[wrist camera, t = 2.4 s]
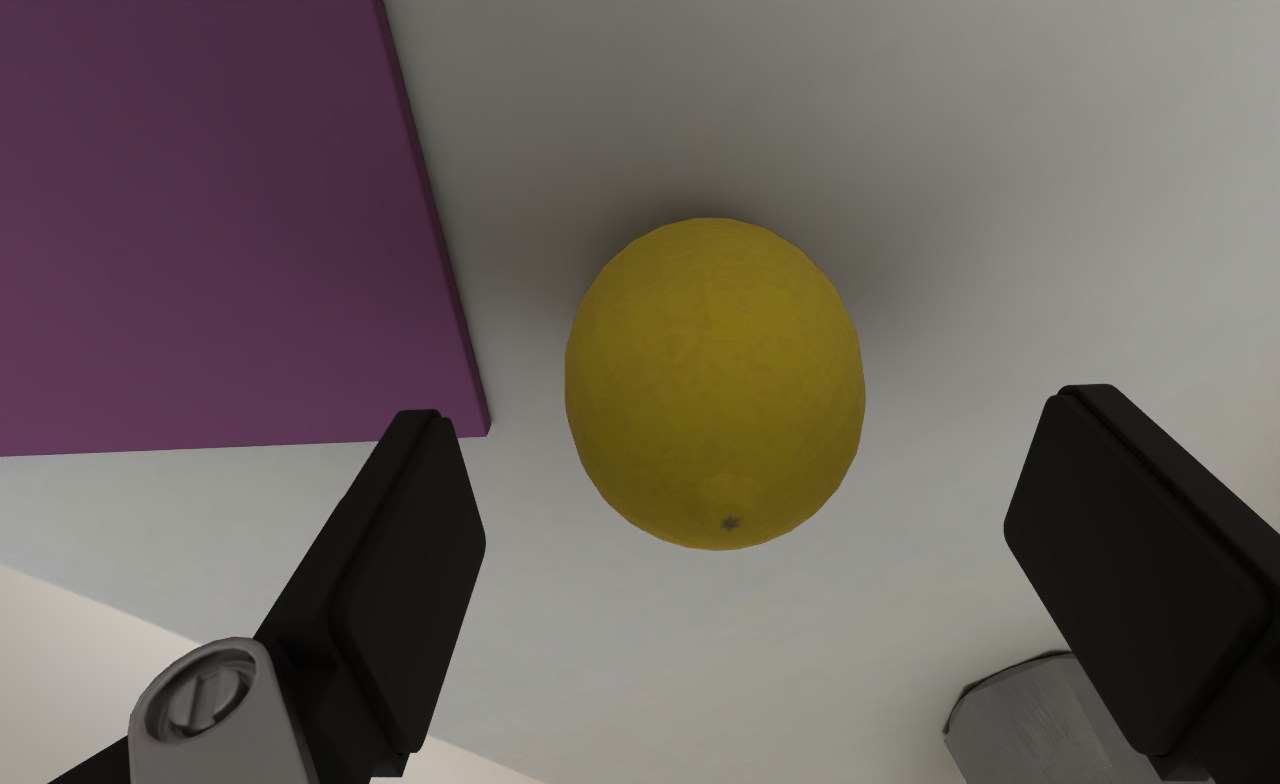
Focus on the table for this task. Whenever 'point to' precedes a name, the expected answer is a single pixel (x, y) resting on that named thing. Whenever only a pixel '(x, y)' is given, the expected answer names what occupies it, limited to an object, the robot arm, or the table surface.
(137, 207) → the purple notebook
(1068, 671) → the coffeepot
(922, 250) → the table surface
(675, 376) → the lemon
